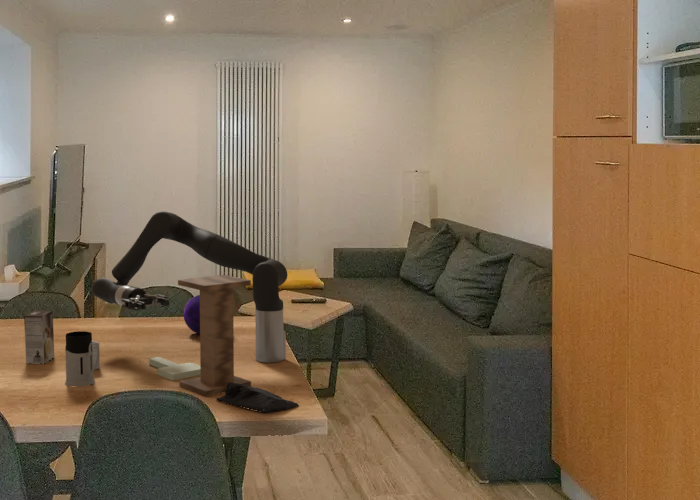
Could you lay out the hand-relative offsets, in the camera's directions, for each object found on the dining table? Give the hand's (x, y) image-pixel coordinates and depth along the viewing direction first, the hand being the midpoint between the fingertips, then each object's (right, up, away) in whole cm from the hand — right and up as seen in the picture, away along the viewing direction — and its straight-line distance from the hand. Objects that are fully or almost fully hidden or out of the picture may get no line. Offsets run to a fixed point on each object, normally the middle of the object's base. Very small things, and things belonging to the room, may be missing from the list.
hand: (156, 304), depth 283 cm
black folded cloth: (+36, -26, -37) cm, 58 cm away
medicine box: (-22, -21, -4) cm, 30 cm away
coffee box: (-40, -19, +7) cm, 45 cm away
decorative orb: (+7, -14, +50) cm, 53 cm away
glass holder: (-17, -23, -21) cm, 35 cm away
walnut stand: (+22, -23, -21) cm, 39 cm away
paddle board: (+6, -21, -4) cm, 22 cm away
